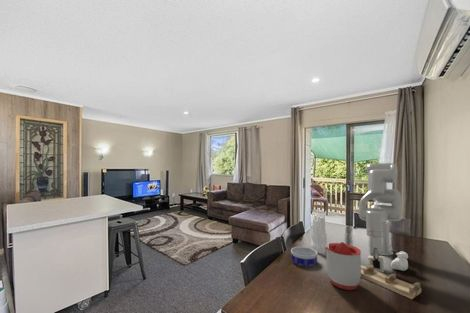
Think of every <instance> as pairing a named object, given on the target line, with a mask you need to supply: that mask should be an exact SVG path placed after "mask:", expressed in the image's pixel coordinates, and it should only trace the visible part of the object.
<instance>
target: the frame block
mask: <svg viewBox="0 0 470 313" xmlns="http://www.w3.org/2000/svg"><path fill="white" fill-rule="evenodd" d="M379 261H380V269H378V268H374V270H376V271H378V272H381V273H385V268H384V267H385V265H384V264H385V263H384V258H383V257H381V256H379ZM367 264H368V266H367V267H369V266H371V265H372V266H373V256H371V255H370V254H369V255H367Z"/></svg>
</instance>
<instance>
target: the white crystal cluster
mask: <svg viewBox="0 0 470 313" xmlns="http://www.w3.org/2000/svg"><path fill="white" fill-rule="evenodd" d="M311 229H312V231H311V242H310V248H311V249H313V250H315V251H316V252H317V254H320V255H322V254H323V253H324V252H325V251H326V247H327V248H329V244H328V237H327V232H326V217H325V215H323V214H322V213H319V212H317V213H316V214H315V215H314V216H313V218H312V228H311Z"/></svg>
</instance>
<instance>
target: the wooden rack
mask: <svg viewBox="0 0 470 313" xmlns="http://www.w3.org/2000/svg"><path fill="white" fill-rule="evenodd" d="M361 278H362V279H364V280H366V281H368V282H371V283H373V284H375V285H378V286H380V287H382V288H384V289H388V290H390V291H391V292H394V293H397V294H398V295H400V296H404V297H406V298H408V299H410V300H413V299H414V298H416V297H417V296H419V295H420V294H422V287H421V283H420V282H418V281H416V282H414V283H413V284H412V283H409V282H407V281H404V280H402V279H399V278H397V274H396V273H395V272H393V273H391V274H389V275H388V274H385V272H380V271H376V270H374V266H372V265H371V266H369V267H368V266H365V265H362V264H361V277H360V279H361Z"/></svg>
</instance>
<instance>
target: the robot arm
mask: <svg viewBox="0 0 470 313" xmlns="http://www.w3.org/2000/svg"><path fill="white" fill-rule="evenodd" d="M365 170H366V173H367V175H368V176H367V192H366V193H365V194H364V195H363V196H362V197H361V198H360V200H359V203H358V216H359V219H361V221H365V222H366V223H365V224H366V226H365V227H366V236H368V254H369V256H373V266H374V268H378V269H380V261H379V257H381V256H388V257H389V256H392V255H393V254H394V252H393V251H392V250H391V248H392V244H390V241H391V240H390V226H389V224H388V223H387V221H394V222H398V221H399V222H400V221H401V220H402V219H403V209H402V207H403V206H402V195H401V192H400V191H399V190H398V189H392V188H391V189H390V188H387V183H388V184H389V183H390V184H392V183H396V182H397V180H398V178H397V177H398V166H397V164H396V163H395V162H393V163H391V162H389V163H388V162H387V163H386V162H381V163H379V162H377V163H376V162H375V163H368V164H366V166H365ZM370 200H372V201H373V202H375V203H380V204H373V205H370V207H365V205H366V203H367V202H368V201H370ZM387 204H390V205H387Z"/></svg>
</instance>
